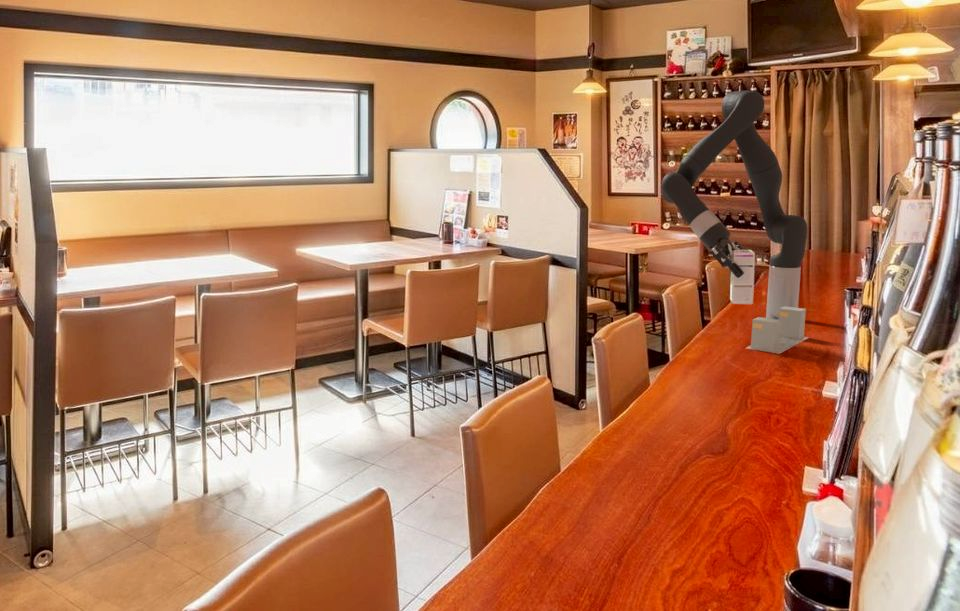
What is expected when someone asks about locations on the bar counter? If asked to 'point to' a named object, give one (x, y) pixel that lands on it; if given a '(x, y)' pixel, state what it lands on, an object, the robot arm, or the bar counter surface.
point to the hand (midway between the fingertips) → (747, 273)
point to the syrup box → (743, 278)
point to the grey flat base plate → (786, 343)
